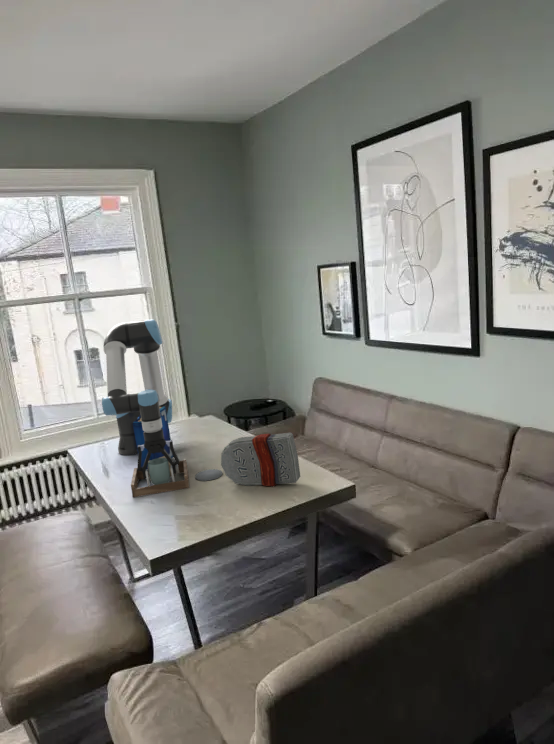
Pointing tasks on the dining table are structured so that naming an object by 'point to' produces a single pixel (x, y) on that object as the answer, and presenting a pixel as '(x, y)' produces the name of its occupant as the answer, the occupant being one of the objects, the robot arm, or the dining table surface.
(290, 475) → the decorative stone tablet
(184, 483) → the wooden tray
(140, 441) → the book
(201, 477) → the mat
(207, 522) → the dining table surface
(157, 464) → the cup
